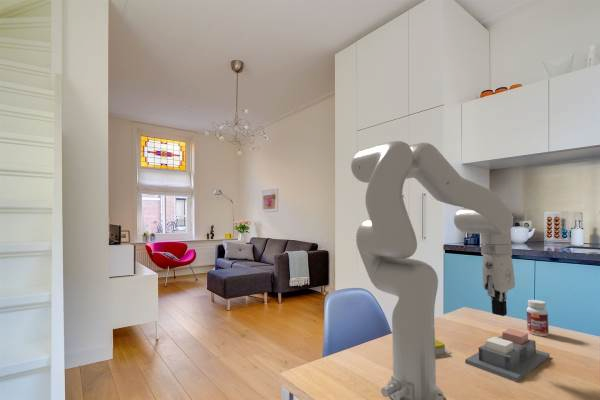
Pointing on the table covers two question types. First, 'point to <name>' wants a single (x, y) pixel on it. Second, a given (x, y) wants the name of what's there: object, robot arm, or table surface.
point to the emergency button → (440, 348)
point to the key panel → (509, 360)
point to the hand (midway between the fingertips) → (499, 314)
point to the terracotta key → (515, 336)
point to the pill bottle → (537, 318)
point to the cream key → (499, 345)
